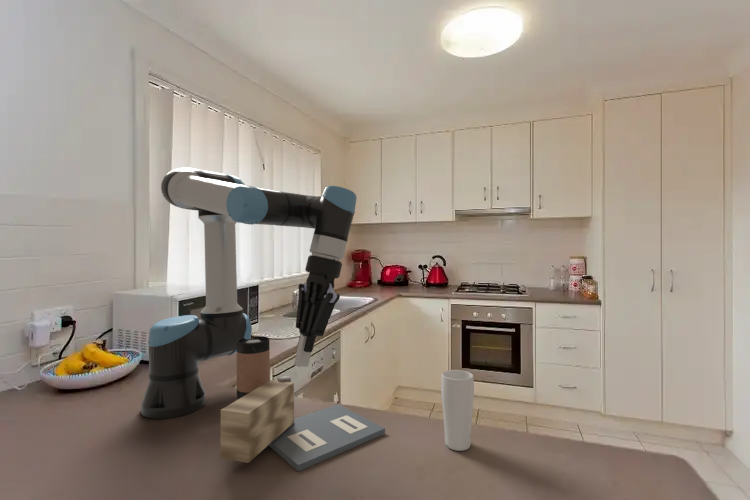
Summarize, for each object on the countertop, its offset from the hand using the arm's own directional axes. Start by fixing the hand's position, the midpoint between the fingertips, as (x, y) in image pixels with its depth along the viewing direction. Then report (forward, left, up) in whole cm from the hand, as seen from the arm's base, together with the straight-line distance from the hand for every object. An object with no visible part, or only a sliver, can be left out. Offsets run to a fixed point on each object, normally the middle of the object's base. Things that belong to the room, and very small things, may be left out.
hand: (300, 365), depth 80 cm
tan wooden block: (-4, -6, -14) cm, 16 cm away
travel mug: (-17, -3, -17) cm, 24 cm away
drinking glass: (+22, +25, -17) cm, 37 cm away
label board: (-1, +6, -17) cm, 18 cm away
